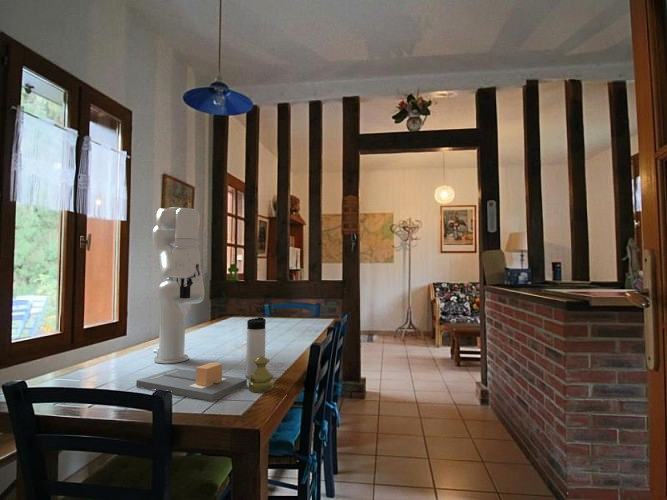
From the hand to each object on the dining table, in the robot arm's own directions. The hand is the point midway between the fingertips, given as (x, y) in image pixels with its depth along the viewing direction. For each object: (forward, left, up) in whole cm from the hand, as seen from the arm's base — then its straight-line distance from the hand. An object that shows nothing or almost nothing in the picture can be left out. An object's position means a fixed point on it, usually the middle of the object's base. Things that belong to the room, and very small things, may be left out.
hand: (184, 298), depth 133 cm
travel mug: (+22, +11, -27) cm, 37 cm away
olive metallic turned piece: (+31, +1, -27) cm, 41 cm away
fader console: (+10, -6, -27) cm, 29 cm away
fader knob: (+17, -6, -25) cm, 30 cm away
